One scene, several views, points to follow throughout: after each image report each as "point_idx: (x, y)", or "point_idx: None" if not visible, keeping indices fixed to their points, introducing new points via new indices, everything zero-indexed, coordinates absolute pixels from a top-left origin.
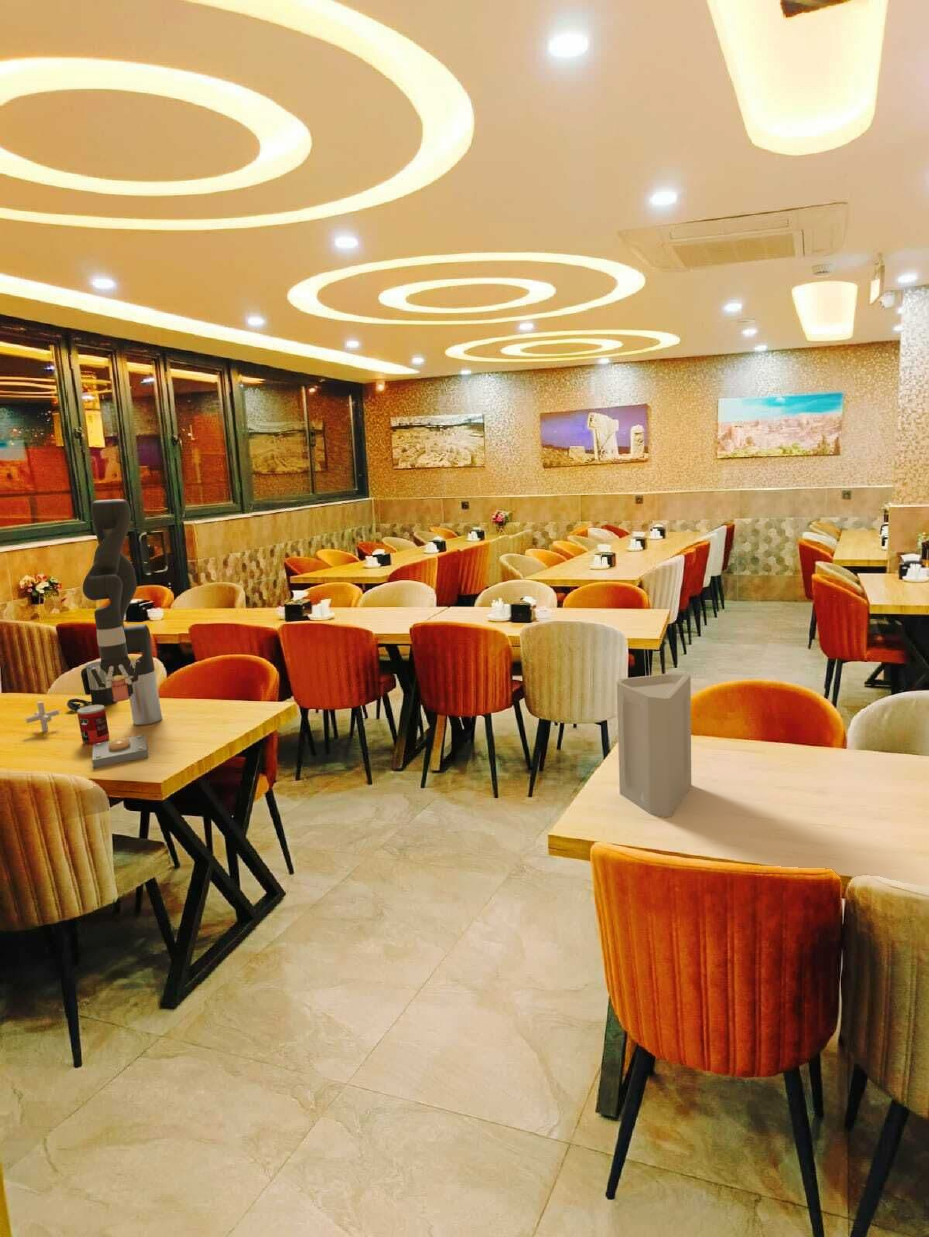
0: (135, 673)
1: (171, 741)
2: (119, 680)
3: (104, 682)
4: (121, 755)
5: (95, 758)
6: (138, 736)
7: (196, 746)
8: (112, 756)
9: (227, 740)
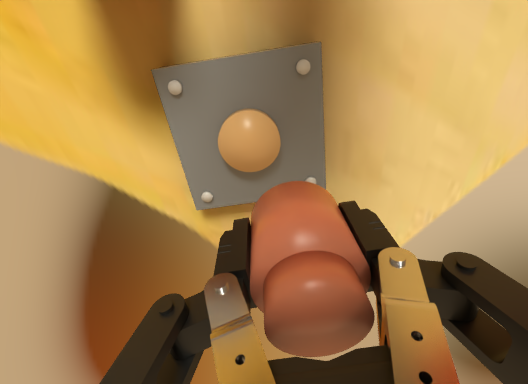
0: (498, 368)
1: (389, 78)
2: (329, 340)
3: (202, 324)
4: None
5: (202, 202)
6: (301, 72)
7: (439, 154)
8: (243, 203)
9: (520, 144)
